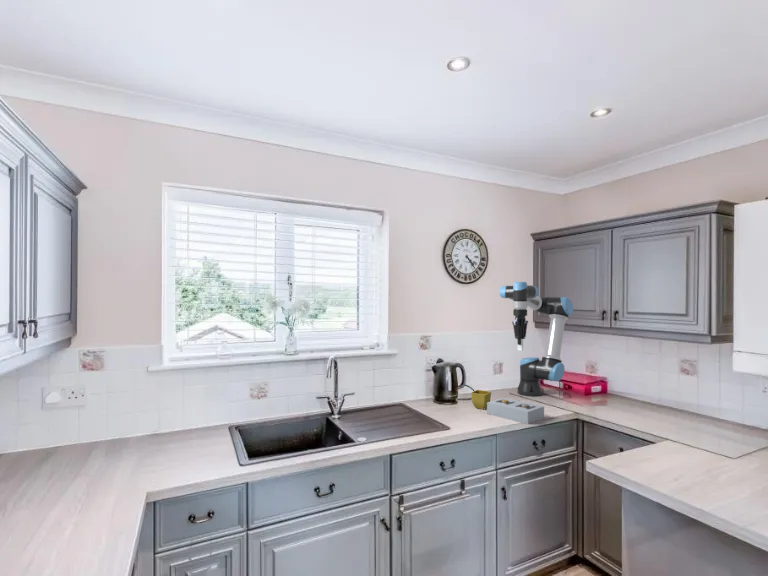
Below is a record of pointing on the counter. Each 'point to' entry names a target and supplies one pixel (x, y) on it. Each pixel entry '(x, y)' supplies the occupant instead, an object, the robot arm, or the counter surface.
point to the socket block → (515, 410)
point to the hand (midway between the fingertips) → (520, 350)
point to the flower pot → (480, 398)
